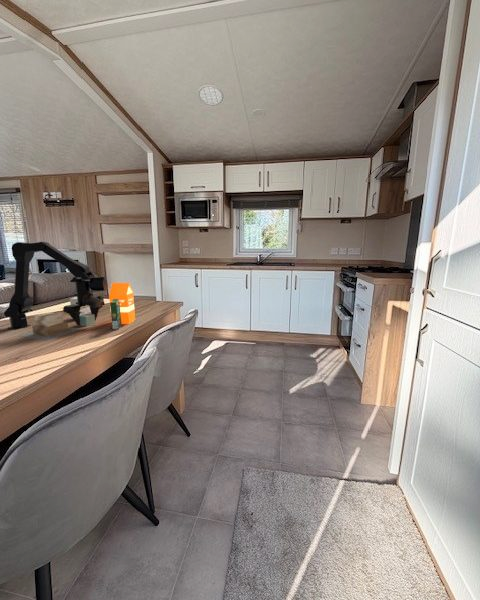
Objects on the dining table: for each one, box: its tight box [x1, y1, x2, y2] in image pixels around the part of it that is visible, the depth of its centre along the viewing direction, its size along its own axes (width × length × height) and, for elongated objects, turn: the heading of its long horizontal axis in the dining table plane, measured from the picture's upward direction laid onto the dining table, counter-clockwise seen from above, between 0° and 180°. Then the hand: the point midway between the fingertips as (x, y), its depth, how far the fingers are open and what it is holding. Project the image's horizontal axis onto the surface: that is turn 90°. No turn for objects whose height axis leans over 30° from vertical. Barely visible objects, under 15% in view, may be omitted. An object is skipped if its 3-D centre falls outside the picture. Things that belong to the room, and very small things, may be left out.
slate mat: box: [19, 327, 81, 341], centre depth 117 cm, size 16×16×1 cm
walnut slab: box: [31, 321, 69, 337], centre depth 117 cm, size 9×9×4 cm
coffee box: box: [109, 299, 123, 331], centre depth 125 cm, size 8×3×13 cm, turn 14°
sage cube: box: [79, 314, 96, 327], centre depth 130 cm, size 5×5×5 cm
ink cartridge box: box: [69, 292, 91, 316], centre depth 141 cm, size 9×5×15 cm, turn 168°
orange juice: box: [108, 282, 136, 325], centre depth 134 cm, size 8×9×20 cm
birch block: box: [34, 311, 65, 327], centre depth 116 cm, size 7×7×4 cm
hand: (87, 322), depth 130 cm, fingers open, 9 cm apart
